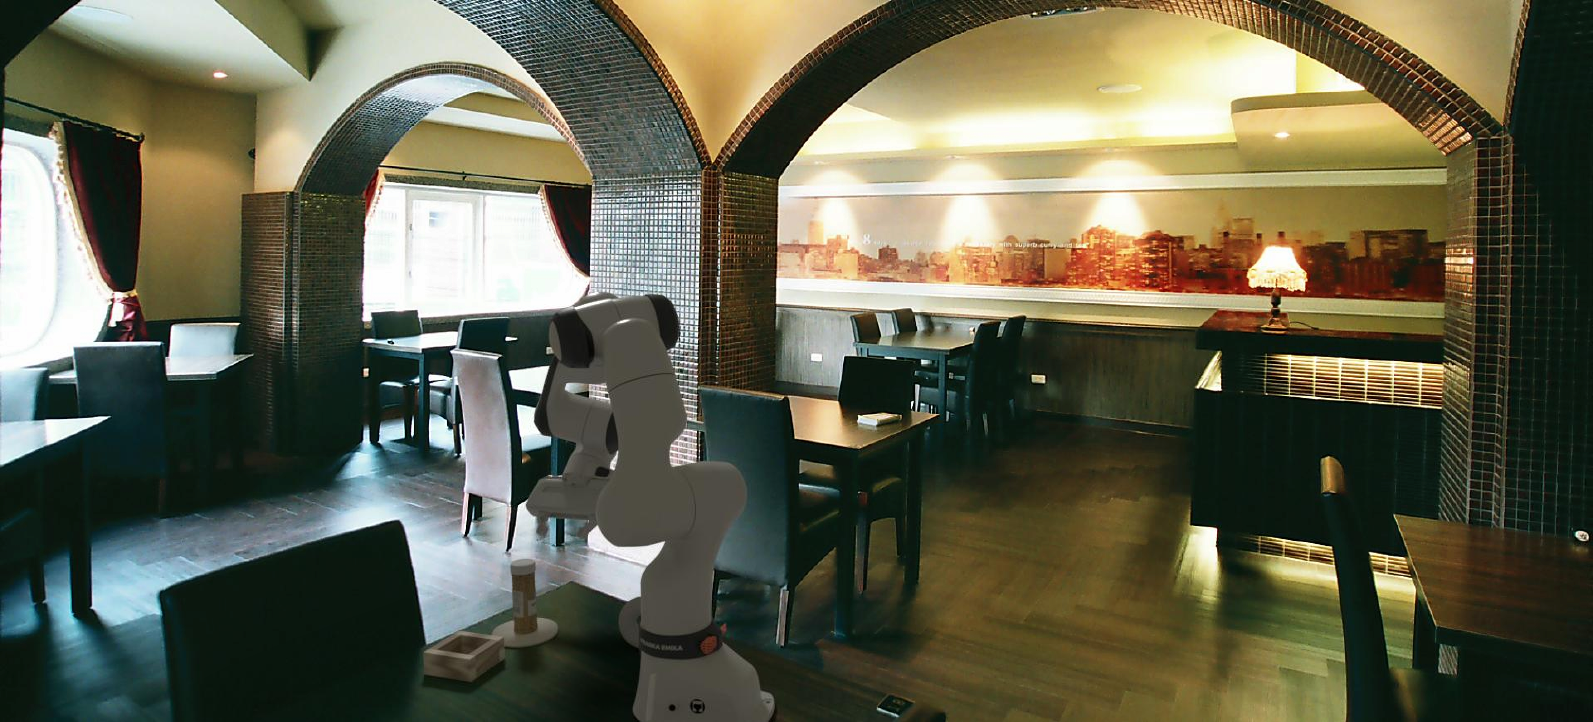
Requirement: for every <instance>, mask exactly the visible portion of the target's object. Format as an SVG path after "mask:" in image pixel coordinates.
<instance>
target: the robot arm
mask: <svg viewBox="0 0 1593 722" xmlns="http://www.w3.org/2000/svg"><path fill="white" fill-rule="evenodd" d="M678 314H679V313H678V312H677V309H676V308H675V305H674V304H673V302H672V300H671V299H669V298H668V297H667V296H666V295H664V294H659V293H645V294H644V295H642V296H641V295H640V296H635V295H634V296H625V297H618V296H617V295H616V294H613V293H610V292H607V291H595V292H594V291H593V292H591V293H588V294H586V295H585V296H584V297H582V298H581V299H580V300H579V301H578V303H577V304H576V306H575V307H574V306H573V305H570V306H568V307H564V308H563V309H560V310H558V311H555V313H554V314H553V316H552V317H551V319H550V326H549V331H548V338H549V339H548V341H549V345H550V348H551V350H552V352H553V356H552V358H551V360H550V363H549V365H548V368H547V369H548V370H547V372H546V375H545V379H544V383H543V387H542V391H541V394H540V398H539V400H538V402H537V404H536V407H535V408H534V409H535V410H534V413H533V423H534V425H535V428H536V429H537V430H538V432H539V433H540V435H542V436H544V437H550V438H555V439H561V440H565V441H568V442H570V443H571V442H572V443H575V448H574V451H573V452H572V453H571V454H570V456H569V459H568V460H567V464H566V465H565V468H564V470H563V473H562V475H551V474H548V475H546V476H544V477H542V478H540V479H538V482H537V483H536V485H535V486H534V488H533V490H532V492H531V493H530V494H529V497H528V498H527V500H526V503H525V508H526V510H527V512H528V513H529V514H530V515H531V516H532V517H535V518H537V523H538V525H537V528H536V530H535V533H536V534H537V535H538V536H543V537H546V536H547V533H548V532H549V528H548V527H547V525H546V522H547V523H548V520H549V518H550V519H562V520H563V519H564V520H577V521H587V522H586V524H585V525H584V526H582V527H579V528H578V532H577V533H576V536H577V538H578V539H580V540H587V539H588V536H589V535H590V533H591V532H592V531H593V530H594V529H595V528H596V527H597V526H598V529H599V531H600V533H601V535H602V536H603V537H604V538H605V540H607V542H608V543H610V544H611V545H613V546H615V547H618V548H636V547H637V548H638V547H640V548H641V547H648V546H651V545H656V544H660V543H663V542H664V543H663V545H662V548H661V549H660V551H659V552H658V554H657V555H656V556H655V557H654V559H652V561H651V562H650V563H649V564H647V566H646V567H645V568H644V570H643V572H642V574H641V578H640V582H639V584H640V596H641V615H640V616H641V617H640V619H641V620H640V621H639V623H638V626H639V648H638V651H639V655H640V668H639V677H638V684H637V690H636V694H635V695H636V696H635V698H634V703H633V706H632V713H633V715H634V716H635V718H636V719H637V721H639V722H769V721H770V720H771V718H772V717H773V714H774V713H775V712H774V711H775V708H776V707H775V706H776V705H775V698H774V695H772V693H770V692H767V691H763V690H761V686H760V685H761V684H760V680H759V679H760V678H759V675H758V673H757V670H756V668H755V667H754V666H753V665H752V664H751V663H750V662H748V661H747V660H746V659H744V658H743V657H742V656H741V655H739V654H738V653H737V652H735V651H734V650H733V649H732V648H731V647H729V646H728V645H727V644H726V643H724V642H723V640H724V639H723V638H724V637H723V636H724V634H725V633H726V631H727V628H726V627H727V623H724V624H723V625H721V626H720V627H719V626H718V624H717V623H716V622H715V620H714V617H713V616H712V597H713V596H712V595H713V594H712V593H713V591H712V590H713V588H712V587H713V574H714V568H715V565H716V560H717V558H718V554H719V551H720V550H721V549H720V548H721V546H722V544H723V541H724V539H725V538H726V537H725V536H726V535H727V534H728V532H729V530H730V528H731V527H732V525H733V524H734V523H735V521H736V520H738V518H739V517H740V516H741V515H742V513H744V511H745V507H746V505H747V500H748V490H747V485H746V484H747V483H746V480H745V478H744V476H743V475H742V473H741V471H739V469H738V468H737V467H736V466H735V465H733V464H732V463H729V462H727V461H713V460H712V461H711V460H703V461H702V460H701V461H695V462H691V463H687V464H680V465H676V466H672V465H671V458H670V456H671V455H670V453H671V446H672V444H673V443H674V442H675V441H676V440H677V439H678V438H679V437H680V436H681V435H682V434H683V432H684V430H685V428H686V426H687V422H688V414H687V411H686V408H685V404H684V400H683V398H682V393H681V389H680V387H679V386H680V385H679V383H678V380H677V379H678V378H677V375H676V371H675V369H674V366H673V363H672V361H671V358H670V354H669V352H668V351H669V350H671V349H674V348H675V347H676V344H678V340H679V338H680V317H679V315H678ZM567 384H585V385H602V384H605V386H606V389H607V394H608V398H609V400H610V401H609V402H607V401H606V402H605V401H602V400H597V399H593V398H591V397H586V396H583V395H579V394H576V393H573V392H570V391H568V390H567V389H566V386H567ZM616 455H617V459H616V462H615V466H614V469H612V468H611V464H612V461H613V460H614V459H615V457H616Z"/></svg>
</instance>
